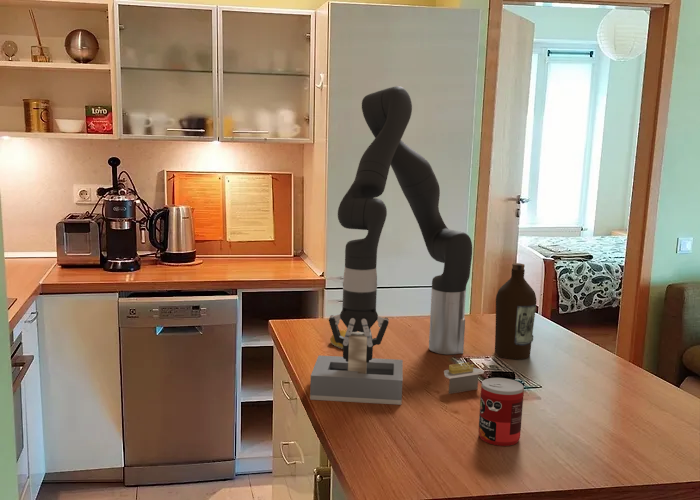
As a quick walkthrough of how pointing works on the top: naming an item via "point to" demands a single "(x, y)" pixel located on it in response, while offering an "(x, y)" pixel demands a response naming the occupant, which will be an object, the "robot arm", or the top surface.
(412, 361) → the top surface
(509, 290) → the olive oil
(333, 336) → the bread roll
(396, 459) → the top surface
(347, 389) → the keyhole plate
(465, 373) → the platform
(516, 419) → the canned food
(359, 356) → the maple peg
